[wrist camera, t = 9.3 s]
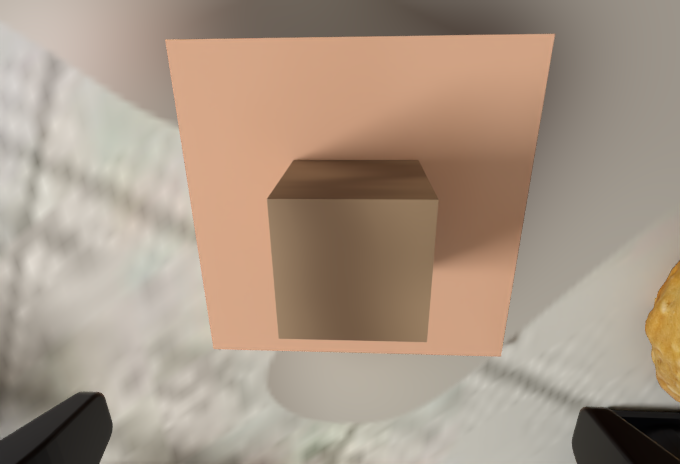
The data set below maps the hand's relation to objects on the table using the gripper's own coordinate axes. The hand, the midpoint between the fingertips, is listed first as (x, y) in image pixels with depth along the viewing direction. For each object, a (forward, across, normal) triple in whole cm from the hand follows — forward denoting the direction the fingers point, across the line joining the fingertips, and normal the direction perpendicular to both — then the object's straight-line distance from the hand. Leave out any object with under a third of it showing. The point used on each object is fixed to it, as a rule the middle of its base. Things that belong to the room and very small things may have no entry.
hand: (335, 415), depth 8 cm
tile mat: (+12, 0, 0) cm, 12 cm away
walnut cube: (+11, 0, 0) cm, 11 cm away
